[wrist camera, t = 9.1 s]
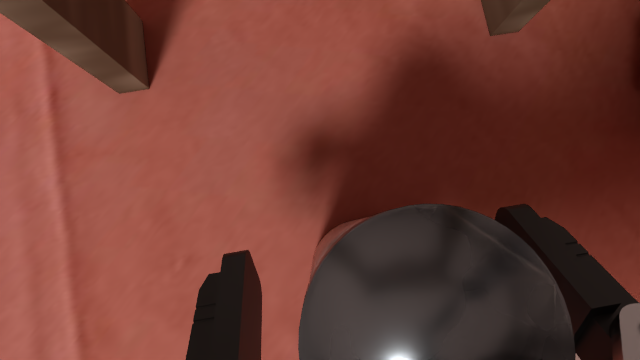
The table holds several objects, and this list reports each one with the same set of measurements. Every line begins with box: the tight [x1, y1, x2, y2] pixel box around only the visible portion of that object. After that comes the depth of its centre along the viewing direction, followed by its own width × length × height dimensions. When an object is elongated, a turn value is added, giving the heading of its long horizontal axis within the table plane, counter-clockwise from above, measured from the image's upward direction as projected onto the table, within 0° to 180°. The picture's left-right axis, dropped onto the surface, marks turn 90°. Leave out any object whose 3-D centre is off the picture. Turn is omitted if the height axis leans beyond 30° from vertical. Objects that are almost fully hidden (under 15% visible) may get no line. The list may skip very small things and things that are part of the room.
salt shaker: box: [298, 204, 575, 360], centre depth 11 cm, size 5×5×11 cm
